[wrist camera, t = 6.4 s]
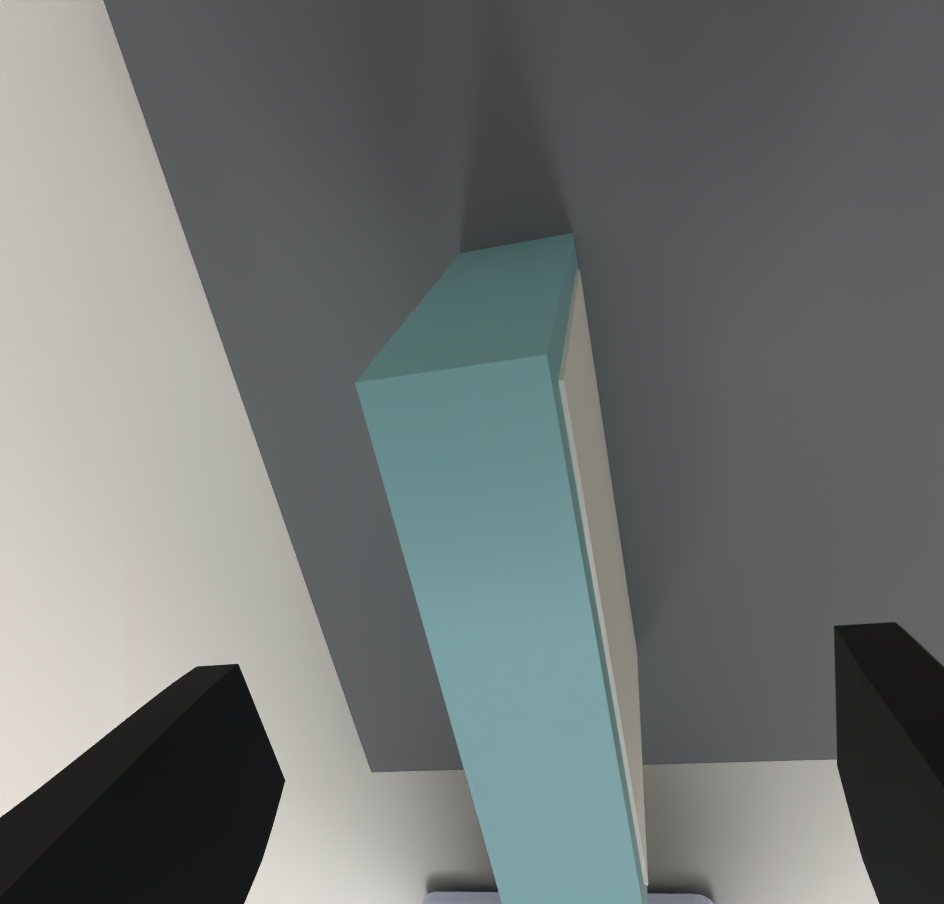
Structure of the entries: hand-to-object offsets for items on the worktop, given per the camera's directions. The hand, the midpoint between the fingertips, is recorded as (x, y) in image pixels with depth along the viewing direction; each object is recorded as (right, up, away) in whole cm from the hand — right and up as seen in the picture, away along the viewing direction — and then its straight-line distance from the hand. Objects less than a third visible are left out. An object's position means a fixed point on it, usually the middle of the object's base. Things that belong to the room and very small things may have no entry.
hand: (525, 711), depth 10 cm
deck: (+1, +3, +6) cm, 7 cm away
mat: (+2, +4, +6) cm, 7 cm away
